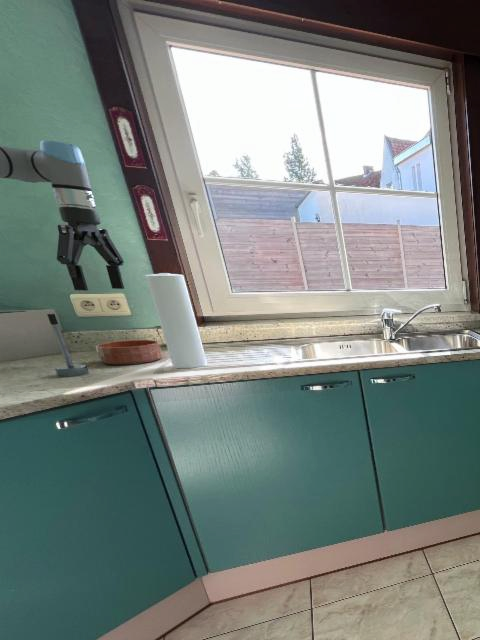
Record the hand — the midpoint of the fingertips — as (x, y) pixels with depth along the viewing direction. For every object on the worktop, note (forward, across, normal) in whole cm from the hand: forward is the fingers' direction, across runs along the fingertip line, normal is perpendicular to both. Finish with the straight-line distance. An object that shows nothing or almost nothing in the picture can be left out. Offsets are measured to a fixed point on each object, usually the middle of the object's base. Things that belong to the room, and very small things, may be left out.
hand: (100, 289), depth 140 cm
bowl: (+26, +29, +16) cm, 42 cm away
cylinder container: (+26, +20, -7) cm, 33 cm away
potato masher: (+26, +9, +20) cm, 34 cm away
